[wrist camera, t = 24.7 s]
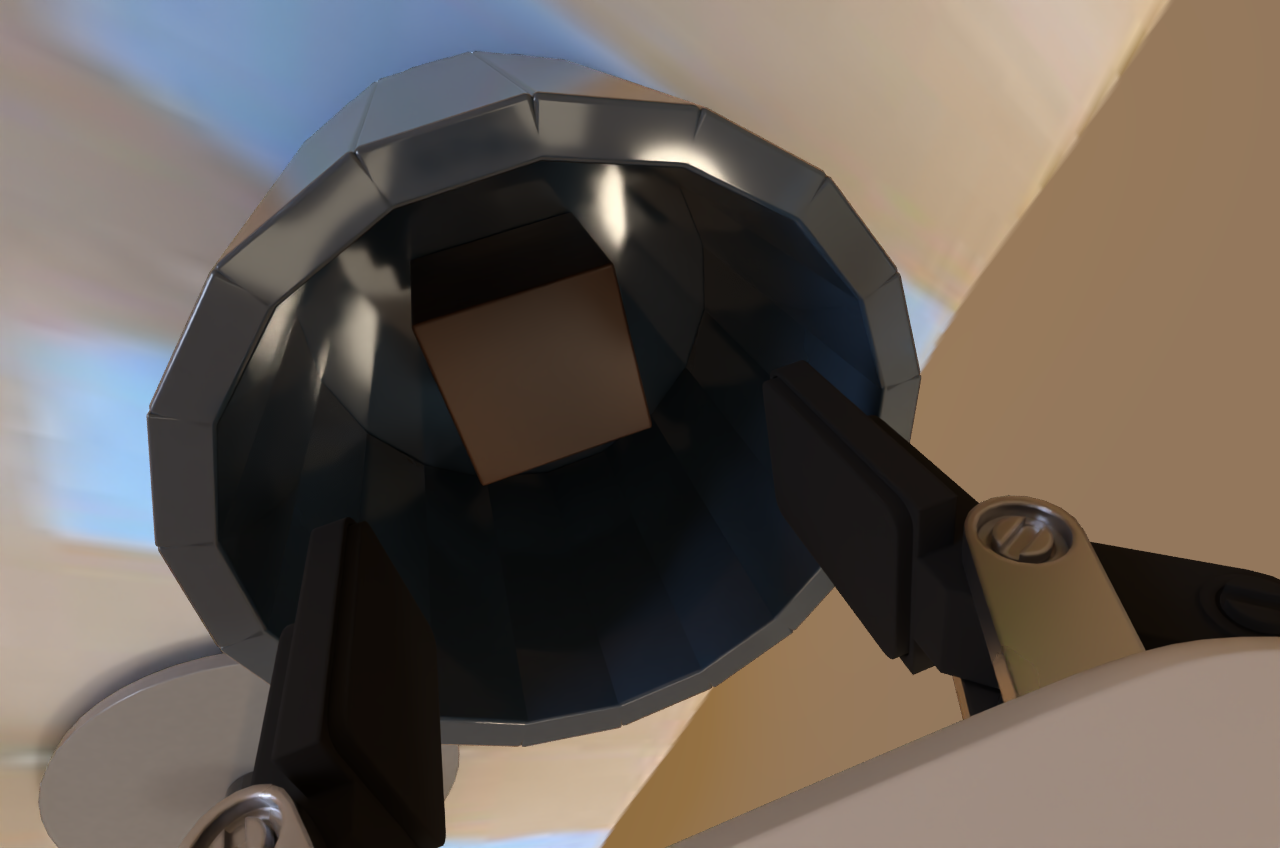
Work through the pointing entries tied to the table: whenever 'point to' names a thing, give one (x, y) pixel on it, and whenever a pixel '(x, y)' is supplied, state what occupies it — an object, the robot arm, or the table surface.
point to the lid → (161, 757)
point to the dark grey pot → (555, 492)
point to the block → (528, 346)
